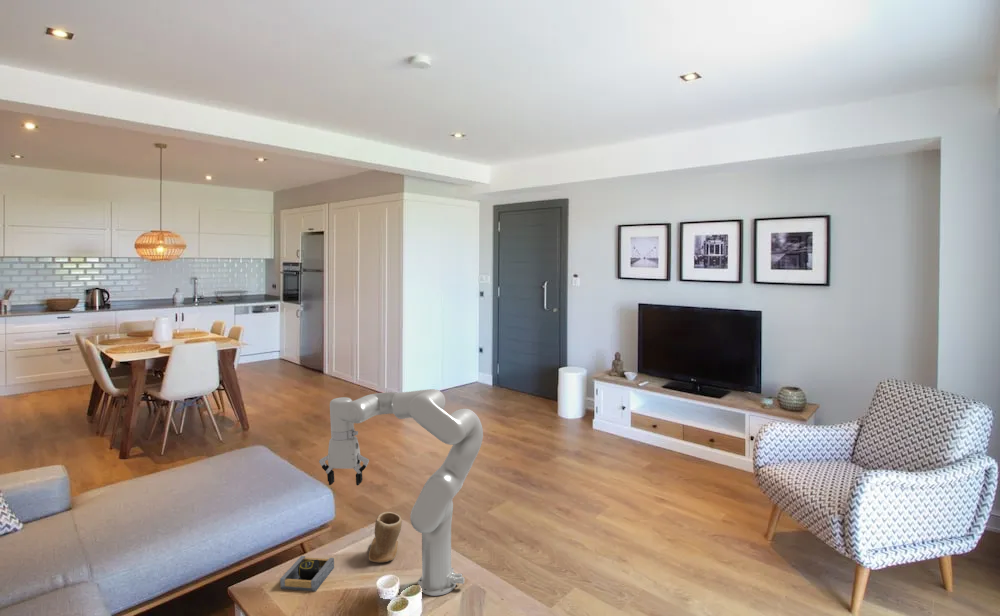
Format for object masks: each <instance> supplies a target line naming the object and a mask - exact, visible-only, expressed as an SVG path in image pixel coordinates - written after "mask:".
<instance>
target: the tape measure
mask: <svg viewBox="0 0 1000 616" xmlns="http://www.w3.org/2000/svg"><path fill="white" fill-rule="evenodd" d="M319 564H320V563H319V561H318V560H314V561H312V560H309V561H305V562H302V563H301V564H300V565H299V567H298V575H299V576H300V577H301V578H304V579H308V578H312V577H315V575H316V574H317V573H318V572H319Z"/></svg>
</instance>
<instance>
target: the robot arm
mask: <svg viewBox="0 0 1000 616" xmlns="http://www.w3.org/2000/svg"><path fill="white" fill-rule="evenodd" d="M445 407H446V397H445V394H444V393H443V392H442V391H441V390H438V389H433V388H432V389H420V390H413V391H404V392H403V391H401V392H392V391H391V392H389V391H388V392H387V391H386V392H377V393H371V394H367V395H364V396H361V397H359V398H356V399H355V400H353V399H352V398H351V397H347V396H345V397H344V396H343V397H337V398H336V397H335V398H333V399H332V400H330V401H329V417H330V418H329V419H330V437H331V438H330V439H329V442H328V449H327V451H328V452H327V455H326V456H324V457H322V458H320V459H319V461H318V463H319V465H320V466H321V469H322V470H324V472H325V474H326V476H327V482H328V486H331V485H333V484H334V483H335V471H334V469H340V470H341V469H346V470H347V469H353V470H354V471H355V472H356V474H355V485H356V486H360V484H362V482H363V471H364V470H365V469H366V468H367V467H368V464H369V462H370V459H369V458H367V457H365V456H363V455H361V449H360V444H359V440H358V435H359V431H358V430H355V424H361V423H363V422H365V421H367V420H369V419H371V418H373V417H375V416H379V415H389V414H390V415H391V414H393V415H394V416H395V417H396V419H400V420H403V419H413V420H414V421H415V422H416V423H417V424H419V426H421V427H422V428H424V429H425V430H426V431H427V432H429V434H431V435H432V436H434V437H435V438H436V439H438V440H439V441H440V442H442V443H444V444H446V445H450V446H451V447H450V450H449V451H448V453H447V455H446V458H445V459H444V461H443V463H442V464H441V466H439V468H438V469H437V470H436V471H434V472H433V473H432V475H430V476H429V477H428V479H427V480H426V481H425V484H424V485H423V487H422V489H421V490H420V493H419V494H418V497H417V499H416V501H415V502H414V505H413V506H412V509H411V510H410V517H409V518H410V523H411V526H412V527H413V529H414V530H415V531H416V532H418V533H421V569H422V570H421V577H419V579H418V581H417V585H418V584H419V585H420V586H421V588H422V591H423V593H422V594H424V595H426V596H427V595H428V596H431V597H432V596H433V597H434V596H435V597H437V596H443V595H446V594H448V593H450V592H452V591H453V590H454V589H455V587H456V586H457V584H460V585H461V584H465V577H464V576H463V573H461V572H460V573H456V572H454V571H455V570H454V568H455V567H452V521H453V519H452V518H453V513H454V512H453V511H454V510H453V509H454V501H453V499H454V498H455V497H456V495H457V494H458V493H459V492H460V490H461V489H462V487H463V485H464V483H465V481H466V478H467V476H468V474H469V473H470V472H471V471H470V470H471V468H472V467H473V465H474V462H475V460H476V458H477V457H478V454H479V452H480V449H481V447H482V444H483V438H484V430H483V425H482V421H481V419H480V418H479V416H478V415H477V413H475V412H474V411H473V410H472V409H469V408H460V409H457V410H455V411H453V412H451V414H450V413H447V411H445V410H444V409H445ZM326 461H327V463H326ZM361 462H362V465H361Z"/></svg>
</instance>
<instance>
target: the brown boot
mask: <svg viewBox="0 0 1000 616" xmlns="http://www.w3.org/2000/svg"><path fill="white" fill-rule="evenodd" d="M402 522H403V520H402V517H401V515H399V514H398V513H396V512H393V511H385V512H381V513H380V514H379V515H377V517H376V519H375V523H374V538H373V540H372V541H371V544H370V549H369V552H368V559H369V561H370V562H374V563H388V562H391V561H393V560H394V559H395V557H396V555H397V552H398V546H399V541H398V537H400V536H399V535H400V532H401V530H402Z"/></svg>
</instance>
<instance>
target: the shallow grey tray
mask: <svg viewBox="0 0 1000 616" xmlns="http://www.w3.org/2000/svg"><path fill="white" fill-rule="evenodd" d="M309 560H312V561H314V560H318V561H319V563H320V564H319V572H318V573H317V574H316V575H315V577H312V578H308V579H304V578H301V577H300V576H299V575H298V567H299V565H300V564H301V563H302V562H305V561H309ZM334 569H335V558H334V557H329V558H318V557H306V556H305V555H301V556H300V557H298V559H297V560H296V561H295V562H294V563H293V565H292V566H290V568H289V569H288V570H287V571H286V572H284V574H283V575H282V576H281V577H280V578H279V579H280V581H279V582H280V589H281V590H290V591H291V590H292V591H301V592H302V591H305V592H317V590H318V589H319V588H320V587H321V586H322V585H323V583H324V582H325V581H326V579H327V578H328V577H329V575H330V574H331V573H332V571H333V570H334Z"/></svg>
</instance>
